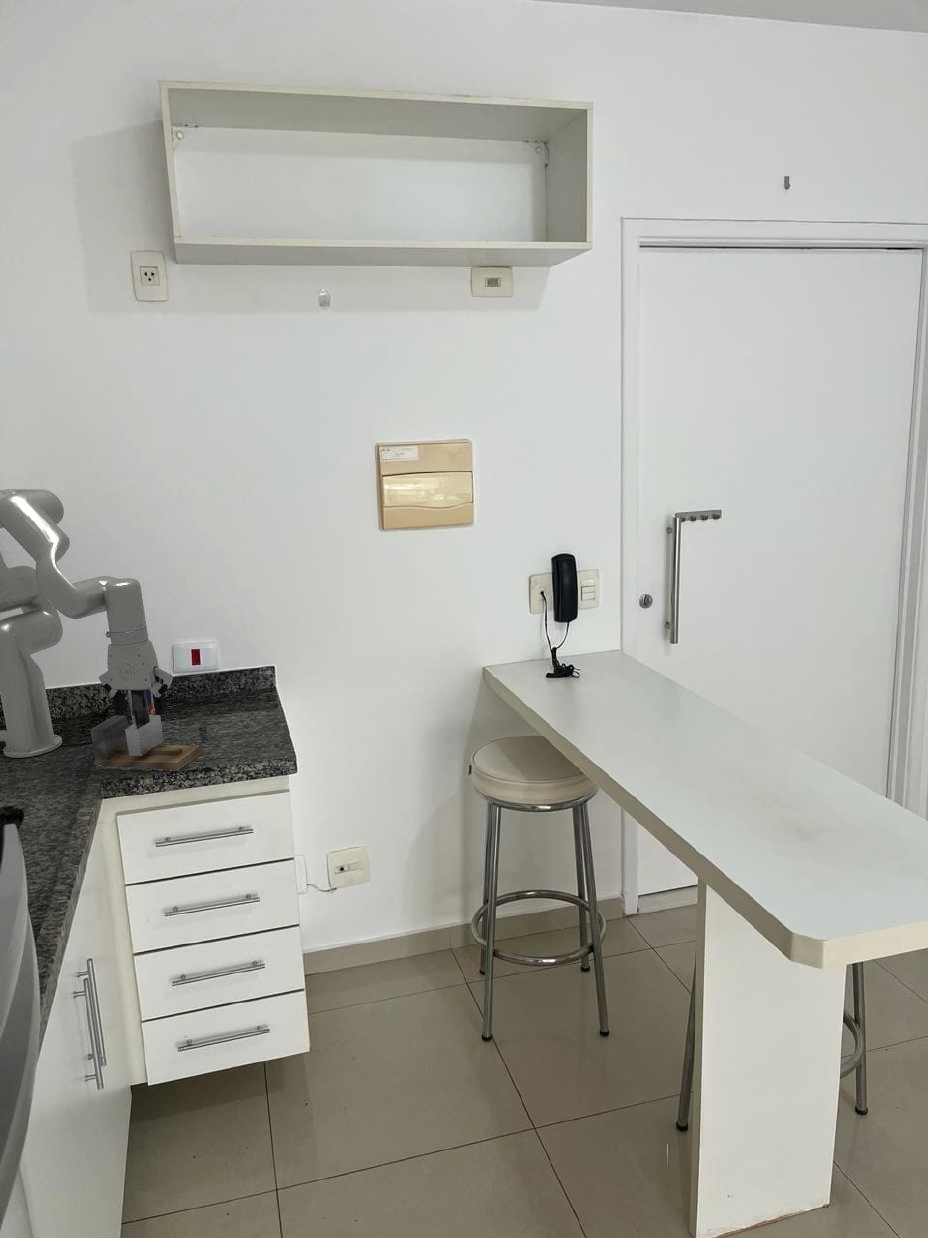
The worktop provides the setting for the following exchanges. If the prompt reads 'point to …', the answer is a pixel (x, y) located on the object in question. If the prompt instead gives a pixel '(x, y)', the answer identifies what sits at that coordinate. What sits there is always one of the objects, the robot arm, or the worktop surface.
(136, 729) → the sliding jaw
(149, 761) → the base
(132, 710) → the energy drink
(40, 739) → the robot arm
